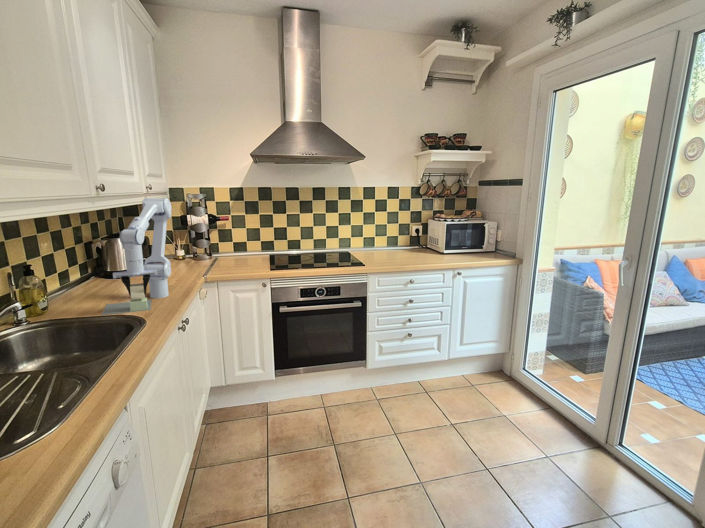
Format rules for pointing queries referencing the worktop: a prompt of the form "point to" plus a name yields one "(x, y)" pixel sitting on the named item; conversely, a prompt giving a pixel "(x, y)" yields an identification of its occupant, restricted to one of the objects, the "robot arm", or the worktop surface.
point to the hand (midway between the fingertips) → (137, 294)
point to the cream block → (137, 291)
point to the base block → (138, 304)
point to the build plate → (121, 308)
